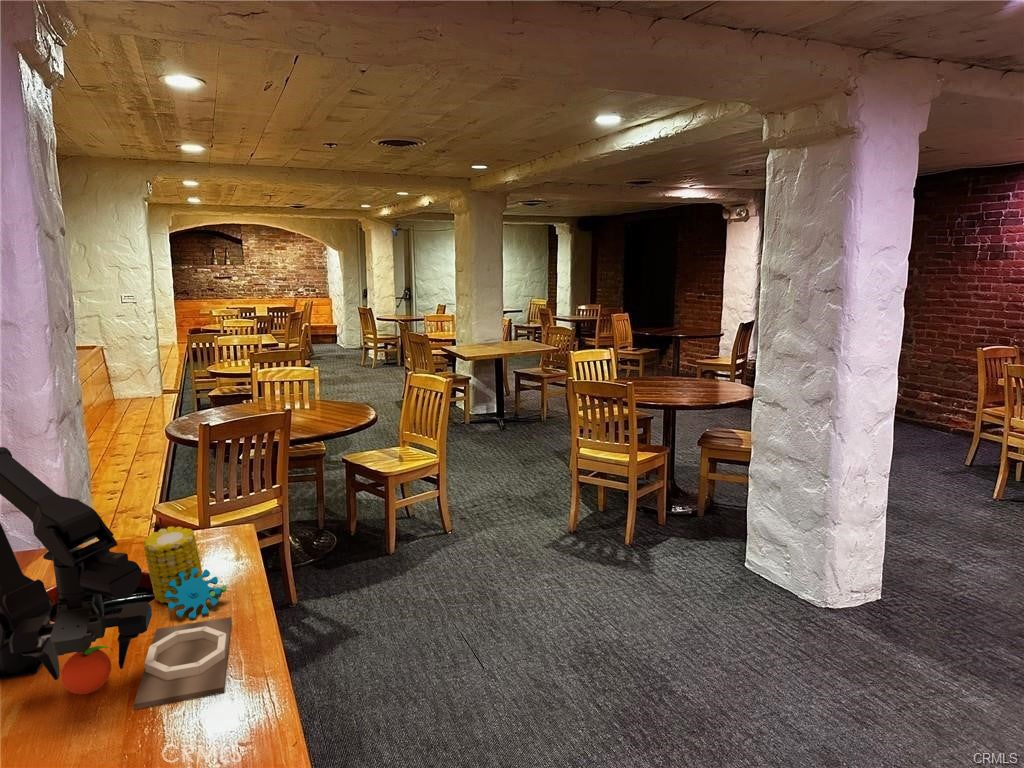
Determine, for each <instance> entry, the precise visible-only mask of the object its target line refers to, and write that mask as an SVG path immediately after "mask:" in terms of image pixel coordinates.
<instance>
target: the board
mask: <svg viewBox="0 0 1024 768" xmlns="http://www.w3.org/2000/svg"><path fill="white" fill-rule="evenodd" d="M232 620H233V619H232V616H229V617H223V618H216V619H209V620H203V621H195V622H192V623H191V622H190V623H186V624H185V623H184V624H178V625H173V626H166V627H164V626H163V627H160V628H156V629H155V632H154V635H153V639H152V643H151V645H153V644H154V643H156V642H158V641H159V640H161V639H163V638H165V637H166V636H168V635H170V634H172V633H173V632H176V631H180V630H186V629H193V628H199V627H205V626H207V627H210V628H212V629H215V630H218V631H221V632H223V633H226V637H227V645H226V653H225V658H224V659H222V660H221V661H219V662H218V663H216V664H215V665H213V666H212V667H210V668H209V669H207V670H206V671H204V672H203V673H201V674H199V675H194V676H188V677H183V678H177V679H171V680H164V679H162V678H159V677H157V676H155V675H152V674H150V673H147V672H146V671H145V668H144V669H143V673H142V675H141V676H142V677H141V679H140V683H139V684H138V685H139V686H138V689H137V693H136V696H135V700H134V703H133V707H134V709H133V710H134V711H135V710H140V709H145V708H151V707H156V706H162V705H166V704H171V703H176V702H182V701H187V700H192V699H193V700H194V699H198V698H202V697H203V698H204V697H208V696H213V695H218V694H224V693H225V688H226V686H225V685H226V679H227V678H226V677H227V667H228V659H229V650H230V642H231V641H230V639H231V631H232ZM217 646H218V643H215V642H212V641H210V640H207V639H204V638H201V639H195V640H189V641H183V642H178V643H176V644H175V645H173V646H171V647H170V648H168V649H166V650H165V651H163V652H161V653H160V654H158V656H157V659H156V662H159V663H161V664H164V665H166V666H168V667H173V666H178V665H184V664H190V663H195V662H198V661H200V660H201V659H203V658H204V657H206V656H207V655H209V654H210V653H212V652H214V651H215V650H217Z"/></svg>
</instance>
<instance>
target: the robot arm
mask: <svg viewBox="0 0 1024 768" xmlns="http://www.w3.org/2000/svg"><path fill="white" fill-rule="evenodd" d="M0 495H1V496H2V497H3V498H4V499H6V500H7V501H8V502H9V503H10V504H12V505H13V506H14V507H15V508H16V509H17V510H19V511H20V513H22V514H23V515H24V516H25V517H27V518H28V519H29V520H30V521H31V522H32V528H33V529H32V530H33V535H34V536H35V538H36V539H37V540H38V541H39V542H40V543H41V544H42V546H43V547H44V548H45V549H46V550H47V552H45V554H43V556H42V558H43V559H44V560H47V561H51V562H52V563H53V569H54V577H55V585H56V592H57V598H58V600H57V602H56V614H55V619H54V623H51V618H50V617H51V613H52V612H51V611H52V606H53V605H52V601H51V600H52V598H51V597H50V596H49V594H48V592H47V590H46V588H45V587H46V586H45V585H44V582H43V580H41V579H36V580H34V579H32V578H30V577H28V576H27V575H25V574H24V573H23V570H22V569H21V566H20V563H19V562H18V559H17V557H16V555H15V553H14V551H13V550H14V549H13V548H12V546H11V543H10V541H9V539H8V537H7V535H6V532H5V529H4V528H3V525H2V523H1V522H0V681H1V680H8V679H14V678H19V677H21V678H22V677H26V676H32V675H36V674H37V673H38V672H39V669H40V668H41V666H42V665H43V666H44V668H45V669H46V670H47V671H48V673H49V674H50V675H51V677H52V679H54V680H55V681H57V680H59V678H60V677H61V675H60V669H61V668H60V661H59V656H64V655H66V654H72V653H77V652H84V651H86V650H88V649H89V648H91V646H92V643H94V642H96V641H97V640H98V639H103V638H104V637H105V634H106V629H109V628H118V631H117V632H118V633H119V634H118V636H117V642H118V665H119V669H120V670H123V668H124V666H125V662H126V657H127V655H128V651H129V648H130V644H131V641H132V639H137V638H138V637H139V636H140V635H141V634H144V633H145V632H147V631H148V629H149V625H150V623H151V619H152V616H153V611H152V610H153V609H152V605H151V604H150V603H149V602H148V601H142V602H136V603H134V602H133V603H127V604H123V606H122V608H121V611H120V613H115V614H108V615H105V614H104V611H105V603H103V598H102V597H103V596H104V597H107V598H114V599H117V600H123V599H126V598H129V597H130V596H131V595H133V594H134V593H135V592H136V590H137V588H138V587H139V585H140V583H141V580H142V575H143V574H142V573H143V571H142V568H141V567H140V565H139V564H138V563H137V561H134V560H129V556H128V553H125V552H115V551H111V549H113V548H115V547H117V546H118V542H117V540H116V539H115V537H114V533H113V532H112V531H111V530H110V529H109V527H108V526H107V525H106V523H105V522H104V520H103V519H102V518H101V516H100V514H99V513H98V512H97V511H96V510H95V509H93V507H92V506H89V505H88V504H86V503H84V502H83V501H81V500H79V499H77V498H72V497H68V496H62V495H60V494H58V493H57V492H55V491H54V490H53V489H51V487H49V486H48V485H47V484H45V483H44V482H43V481H42V480H41V479H39V478H38V477H37V476H36V475H35V474H34V473H32V472H31V471H30V470H29V469H28V468H26V467H25V466H23V465H22V464H21V463H20V462H19V461H17V460H16V459H15V458H14V457H13V454H12V452H11V451H10V450H9V449H8V448H7V447H5V446H0ZM95 539H97V540H96V541H95V542H91V541H93V540H95ZM88 542H91V544H88V545H86V546H83V547H81V546H82V545H83V544H87V543H88Z"/></svg>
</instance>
